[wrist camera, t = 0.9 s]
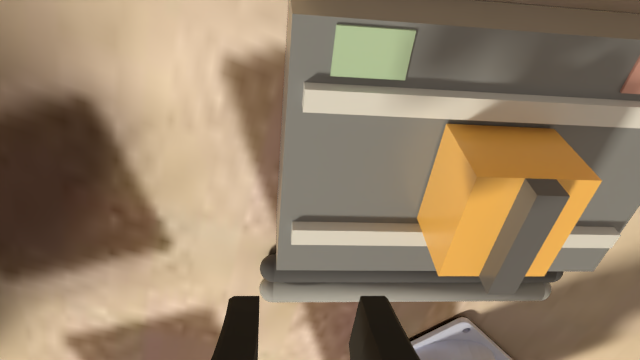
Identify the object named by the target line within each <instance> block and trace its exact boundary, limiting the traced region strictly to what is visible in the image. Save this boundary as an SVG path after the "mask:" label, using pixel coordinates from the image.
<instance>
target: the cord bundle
mask: <svg viewBox="0 0 640 360" xmlns="http://www.w3.org/2000/svg"><path fill="white" fill-rule="evenodd" d="M260 271H261V274H262V276H263V278H264V279H263V280H262V282H261V284H260V294H261V296H262V297H263V298H264V299H265V300H266V301H268V302H359V300H360V296H385V297H387V298H388V300H389V302H424V301H542V300H545V299H547V298H548V297H549V296H550V293H551V285H550V283H551V282H555V281H558V280H559V279H560V278H561V277H562V275H563V271H547V273H546V274H545V276H525V277H524V279H523V281H522V282H521V284H520V286H519V288H518V289H517V291H516V293H515V294H513V295H487V293H486V291H485V289H484V287H483V285H482V282H481V280H480V278H479V276H438V274H437V271H338V270H276V254H272V255H269V256H267V257H265V258H264V259H263V261H262V263H261V265H260Z"/></svg>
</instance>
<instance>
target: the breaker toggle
mask: <svg viewBox="0 0 640 360" xmlns="http://www.w3.org/2000/svg"><path fill="white" fill-rule="evenodd" d="M601 182H602V180H601V179H600V178H599V177H598V176H597V175H596V173H595V172H594V171H593V170H592V169H591V168H590V167H589V166H588V165H587V164H586V163H585V162H584V160H583V159H582V158H581V157H580V156H579V155H578V154H577V153H576V152H575V151H574V150H573V149H572V148H571V146H570V145H569V144H568V143H567V142H566V141H565V140H564V139H563V138H562V137H561V136H560V135H559V133H558V132H557V131H556V130H555V129H550V128H529V127H507V126H486V125H464V124H446V126H445V129H444V133H443V136H442V139H441V142H440V146H439V149H438V152H437V155H436V158H435V162H434V165H433V168H432V171H431V174H430V178H429V181H428V184H427V187H426V191H425V194H424V197H423V200H422V203H421V207H420V210H419V213H418V216H417V220H418V222H419V225H420V228H421V230H422V233H423V236H424V239H425V241H426V244H427V247H428V250H429V252H430V255H431V258H432V261H433V263H434V266H435V269H436V271H437V274H438V276H479V278H480V280H481V282H482V285H483V287H484V289H485V291H486V293H487V295H513V294H515V293H516V291H517V289H518V288H519V286H520V284H521V282H522V281H523V279H524V277H525V276H545V274H546V273H547V271H548V269H549V268H550V266H551V264H552V263H553V261H554V259H555V258H556V256H557V254H558V253H559V251H560V250H561V248H562V246H563V245H564V243H565V241H566V240H567V238H568V236H569V235H570V233H571V231H572V230H573V228H574V226H575V225H576V223H577V221H578V220H579V218H580V217H581V215H582V213H583V212H584V210H585V208H586V207H587V205H588V203H589V202H590V200H591V198H592V197H593V195H594V193H595V192H596V190H597V189H598V187H599V185H600V184H601Z"/></svg>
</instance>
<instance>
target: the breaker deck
mask: <svg viewBox="0 0 640 360" xmlns="http://www.w3.org/2000/svg"><path fill="white" fill-rule="evenodd" d="M446 124H464V125H486V126H507V127H529V128H550V129H555V130H556V131H557V132H558V133H559V135H560V136H561V137H562V138H563V139H564V140H565V141H566V142H567V143H568V144H569V145H570V146H571V148H572V149H573V150H574V151H575V152H576V153H577V154H578V155H579V156H580V157H581V158H582V159H583V160H584V162H585V163H586V164H587V165H588V166H589V167H590V168H591V169H592V170H593V171H594V172H595V173H596V175H597V176H598V177H599V178H600V179H601V180H602V182H601V184H600V185H599V187H598V189H597V190H596V192H595V193H594V195H593V197H592V198H591V200H590V202H589V203H588V205H587V207H586V208H585V210H584V212H583V213H582V215H581V217H580V218H579V220H578V221H577V223H576V225H575V226H574V228H573V230H572V231H571V233H570V235H569V236H568V238H567V240H566V241H565V243H564V245H563V246H562V248H561V250H560V251H559V253H558V254H557V256H556V258H555V259H554V261H553V263H552V264H551V266H550V268H549V269H548V271H594V270H595V268H596V267H597V266H598V264H599V263H600V261H601V260H602V258H603V257H604V256H605V254H606V253H607V251H608V250H609V248H612V247H613V246H614V244H615V243H616V241H617V240H618V238H619V237H620V236H621V235H620V233H621V231H622V230H623V228H624V227H625V226H626V224H627V223H628V221H629V220H630V218H631V217H632V216H633V214H634V213H635V211H636V210H637V208H638V207H639V206H640V14H636V13H624V12H612V11H600V10H588V9H576V8H564V7H552V6H540V5H528V4H516V3H503V2H491V1H479V0H289V1H288V18H287V36H286V54H285V72H284V90H283V107H282V125H281V143H280V161H279V179H278V196H277V214H276V270H338V271H436V269H435V266H434V263H433V261H432V258H431V255H430V252H429V250H428V247H427V244H426V241H425V239H424V236H423V233H422V230H421V228H420V225H419V222H418V220H417V216H418V213H419V210H420V207H421V203H422V200H423V197H424V194H425V191H426V187H427V184H428V181H429V178H430V174H431V171H432V168H433V165H434V162H435V158H436V155H437V152H438V149H439V146H440V142H441V139H442V136H443V133H444V129H445V126H446Z"/></svg>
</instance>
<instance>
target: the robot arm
mask: <svg viewBox="0 0 640 360" xmlns="http://www.w3.org/2000/svg"><path fill="white" fill-rule="evenodd" d="M258 327H259V296H233V297H232V298H230V299H229V302H228V307H227V312H226V316H225V320H224V323H223V327H222V330H221V333H220V336H219V339H218V342H217V345H216V348H215V351H214V354H213V356H212V359H211V360H258ZM349 349H350V360H513V359H512V358H511V357H510V356H509V355H507V354H506V353H505V352H504V351H503V350H502V349H501V348H500V347H499V346H498V345H496V344H495V343H494V342H493V341H492V340H491V339H490V338H489V337H488V336H487V335H485V334H484V333H483V332H482V331H481V330H480V329H479V328H478V327H477V326H476V325H474V324H473V323H472V322H471V321H470V320H469V319H468V318H465V317H460V318H457V319H455V320H453V321H451V322H449V323H447V324H445V325H443V326H441V327H439V328H437V329H435V330H433V331H431V332H429V333H427V334H425V335H423V336H421V337H419V338H417V339H415V340H413V341H411V342H410V341H409V339H408V337H407V335H406V333H405V331H404V330H403V328H402V326H401V324H400V322H399V320H398V318H397V316H396V314H395V312H394V310H393V308H392V306H391V304H390V302H389V300H388V298H387V297H385V296H360V300H359V304H358V308H357V312H356V317H355V321H354V325H353V329H352V333H351V337H350V341H349Z"/></svg>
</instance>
